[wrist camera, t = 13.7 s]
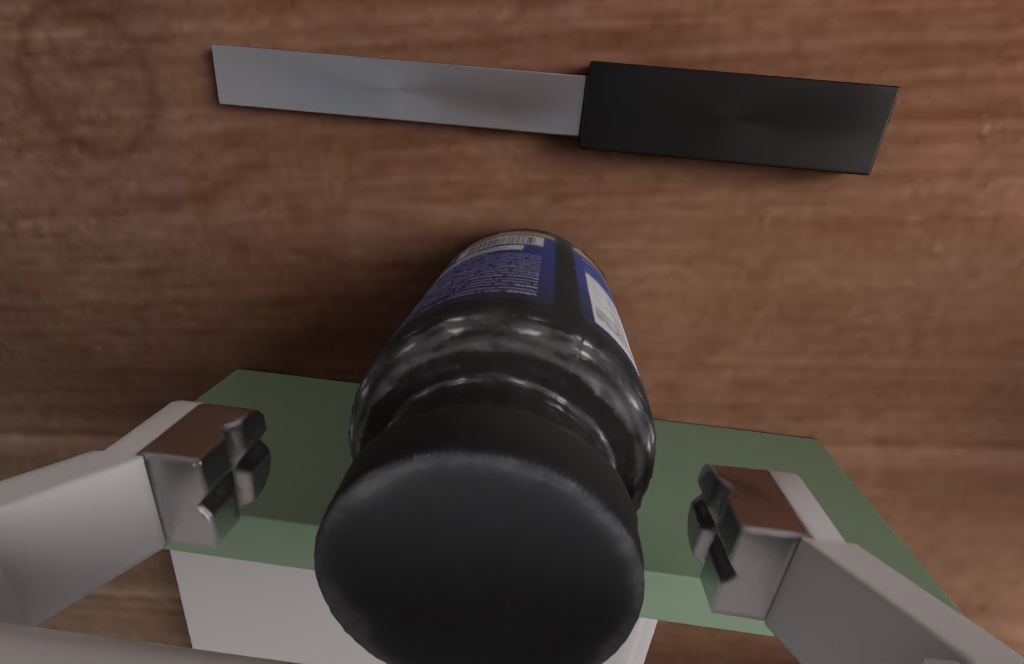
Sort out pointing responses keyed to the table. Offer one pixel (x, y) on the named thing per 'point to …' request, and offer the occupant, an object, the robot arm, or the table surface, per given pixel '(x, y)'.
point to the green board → (661, 518)
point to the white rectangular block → (289, 614)
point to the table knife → (584, 105)
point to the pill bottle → (495, 470)
